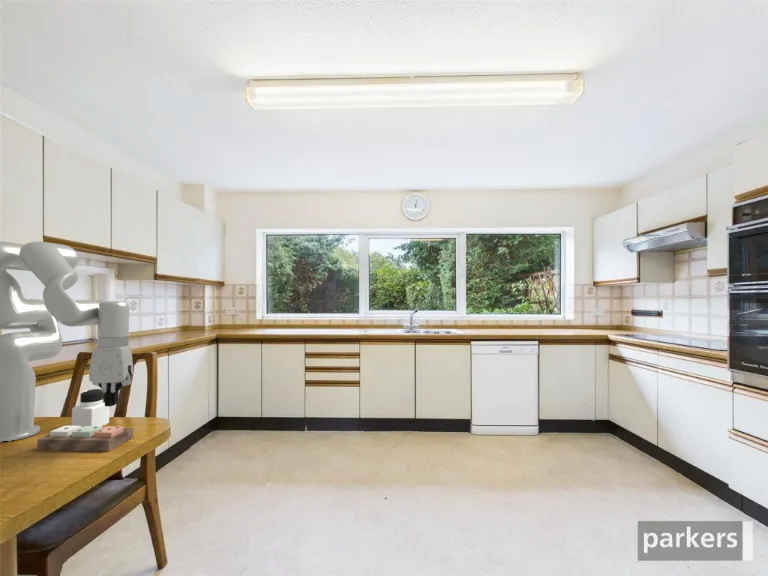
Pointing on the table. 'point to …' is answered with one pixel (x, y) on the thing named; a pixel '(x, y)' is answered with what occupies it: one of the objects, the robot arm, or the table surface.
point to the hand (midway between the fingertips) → (111, 405)
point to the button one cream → (64, 431)
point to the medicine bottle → (91, 409)
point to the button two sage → (86, 431)
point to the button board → (84, 442)
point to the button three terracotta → (109, 431)
